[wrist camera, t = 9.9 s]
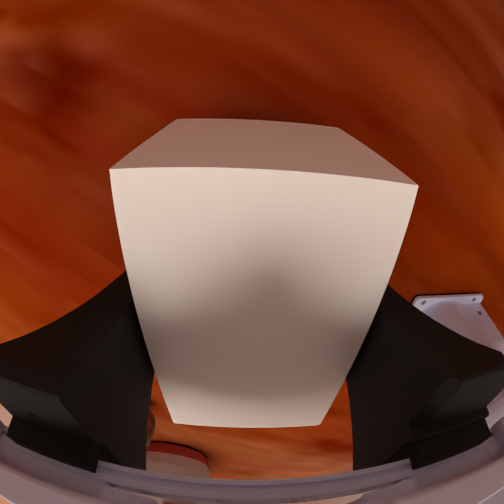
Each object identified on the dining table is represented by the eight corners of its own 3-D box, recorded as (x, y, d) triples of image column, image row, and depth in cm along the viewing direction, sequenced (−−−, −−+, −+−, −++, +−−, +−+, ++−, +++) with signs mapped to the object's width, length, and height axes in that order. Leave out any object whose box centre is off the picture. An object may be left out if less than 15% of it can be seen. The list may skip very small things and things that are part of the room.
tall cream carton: (338, 127, 10) (418, 185, 5) (302, 323, 16) (319, 425, 11) (177, 119, 10) (109, 168, 5) (190, 319, 15) (173, 423, 10)
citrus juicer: (236, 448, 42) (236, 555, 25) (196, 468, 50) (191, 550, 33) (145, 425, 38) (128, 543, 21) (123, 448, 46) (110, 535, 29)
